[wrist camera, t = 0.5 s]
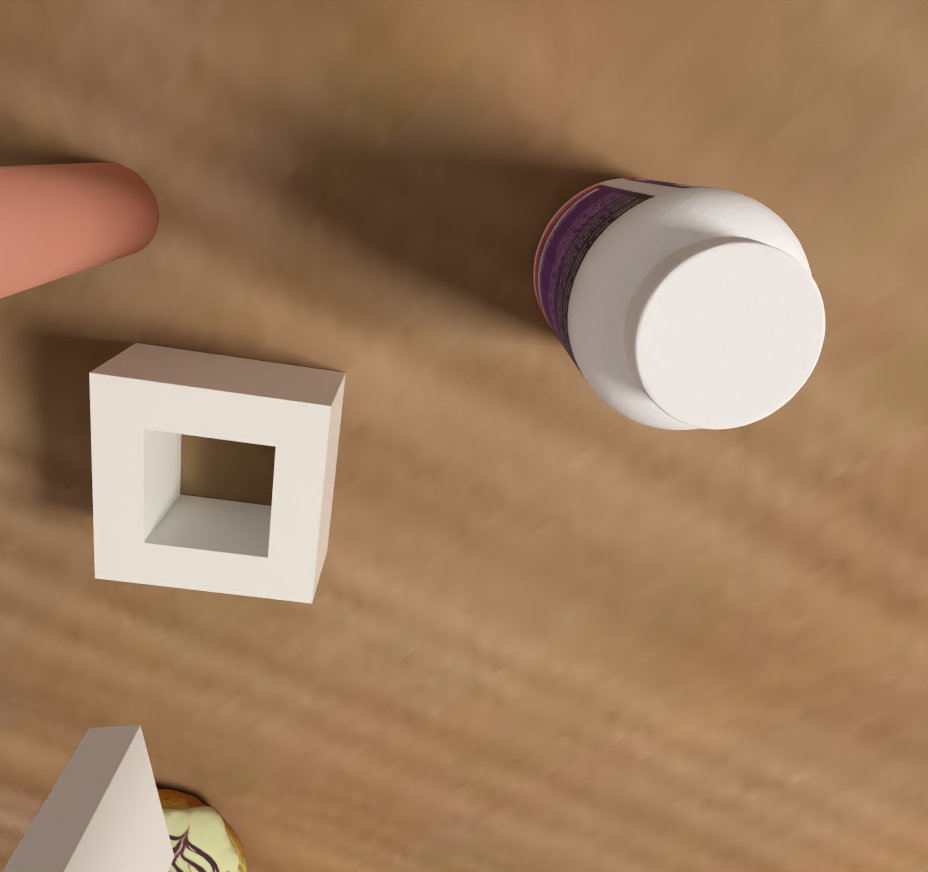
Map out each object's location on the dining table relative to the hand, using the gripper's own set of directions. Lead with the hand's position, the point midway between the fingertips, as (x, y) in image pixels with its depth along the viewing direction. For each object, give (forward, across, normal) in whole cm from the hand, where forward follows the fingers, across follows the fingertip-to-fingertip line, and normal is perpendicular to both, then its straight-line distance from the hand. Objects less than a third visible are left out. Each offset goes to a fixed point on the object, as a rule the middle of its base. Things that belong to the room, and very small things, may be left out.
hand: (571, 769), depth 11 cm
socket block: (+26, -13, -5) cm, 29 cm away
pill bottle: (+26, +6, +4) cm, 27 cm away
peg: (+26, -16, +7) cm, 31 cm away
